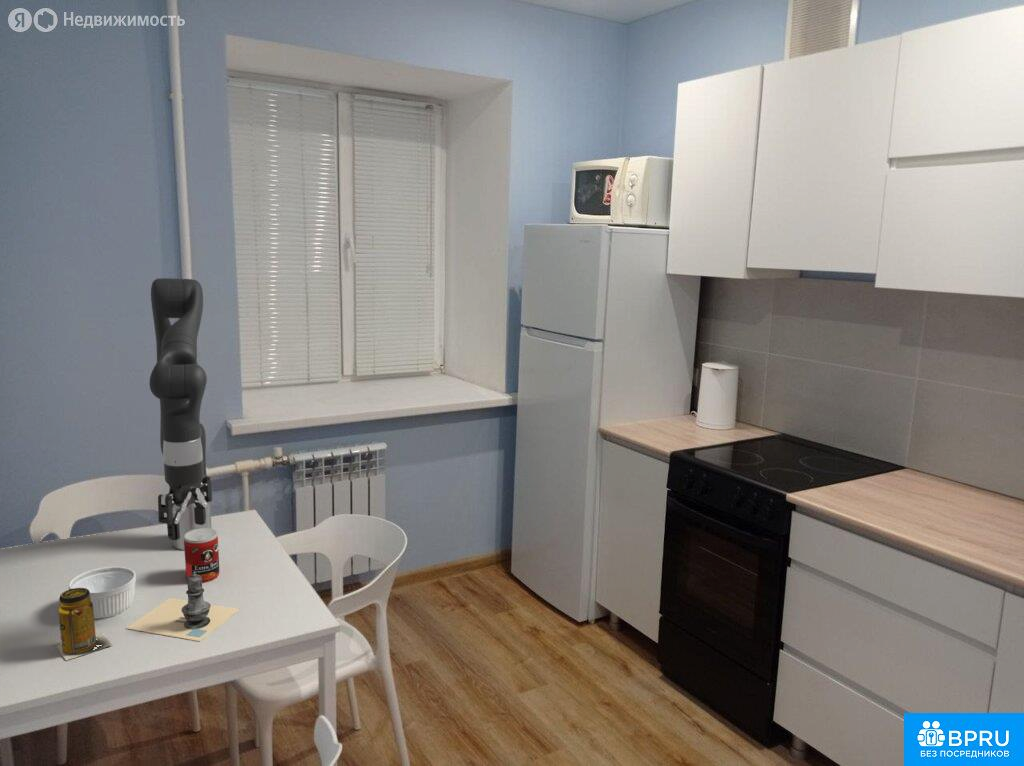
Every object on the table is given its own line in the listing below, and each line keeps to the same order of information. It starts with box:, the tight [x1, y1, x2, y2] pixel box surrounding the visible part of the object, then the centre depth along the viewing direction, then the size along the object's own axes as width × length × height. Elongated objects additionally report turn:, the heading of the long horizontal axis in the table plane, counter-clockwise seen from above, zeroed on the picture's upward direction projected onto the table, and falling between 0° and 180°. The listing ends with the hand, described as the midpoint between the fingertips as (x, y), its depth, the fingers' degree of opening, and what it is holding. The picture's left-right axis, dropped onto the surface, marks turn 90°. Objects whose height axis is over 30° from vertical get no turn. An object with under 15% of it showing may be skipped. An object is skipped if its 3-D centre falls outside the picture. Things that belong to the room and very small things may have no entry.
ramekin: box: [68, 566, 137, 620], centre depth 168 cm, size 13×13×7 cm
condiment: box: [56, 588, 113, 661], centre depth 152 cm, size 7×8×12 cm
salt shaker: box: [181, 571, 212, 629], centre depth 161 cm, size 6×6×12 cm
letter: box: [125, 597, 240, 642], centre depth 164 cm, size 14×18×1 cm
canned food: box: [184, 528, 220, 584], centre depth 184 cm, size 8×8×11 cm
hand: (187, 531), depth 160 cm, fingers open, 8 cm apart
